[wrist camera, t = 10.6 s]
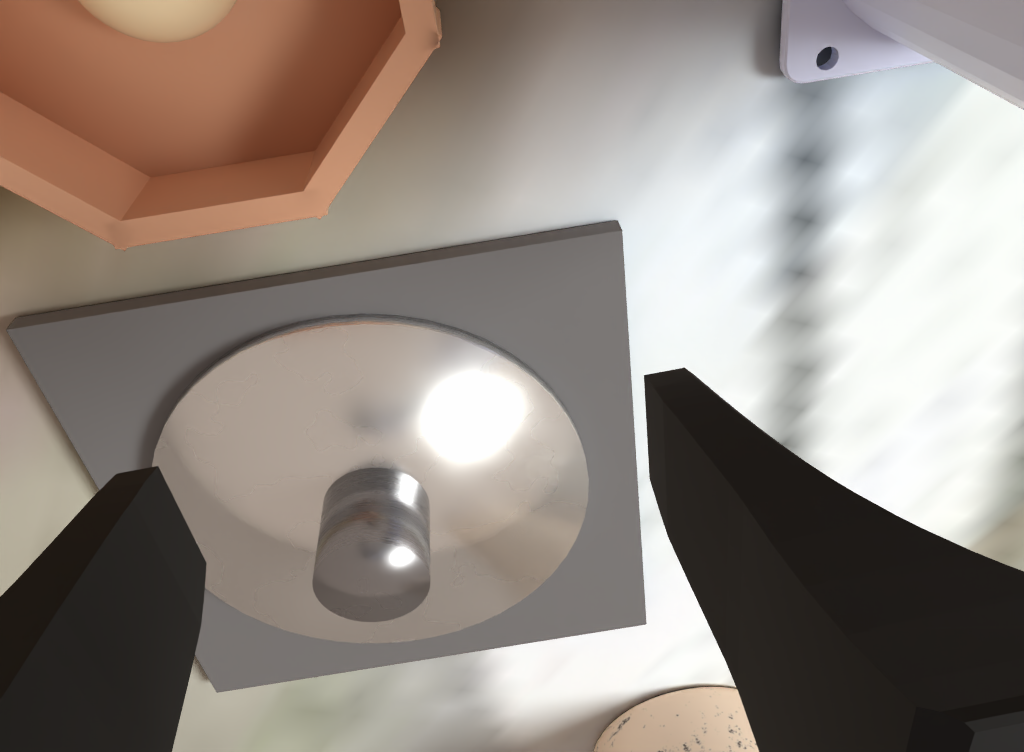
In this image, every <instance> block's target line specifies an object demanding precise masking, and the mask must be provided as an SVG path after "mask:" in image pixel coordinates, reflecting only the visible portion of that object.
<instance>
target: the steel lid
mask: <svg viewBox="0 0 1024 752" xmlns="http://www.w3.org/2000/svg"><path fill="white" fill-rule="evenodd" d="M155 466H158V467H159V469H160V471H161V473H162V475H163V477H164V479H165V481H166V483H167V485H168V487H169V489H170V491H171V493H172V495H173V497H174V499H175V501H176V503H177V505H178V507H179V509H180V511H181V513H182V515H183V517H184V519H185V521H186V523H187V525H188V527H189V529H190V531H191V533H192V535H193V537H194V539H195V541H196V543H197V545H198V547H199V549H200V551H201V553H202V555H203V557H204V559H205V561H206V563H207V565H206V579H205V588H206V589H207V590H209V591H210V592H211V593H213V594H214V595H215V596H217V597H218V598H219V599H221V600H222V601H223V602H225V603H227V604H229V605H230V606H232V607H234V608H235V609H237V610H239V611H240V612H242V613H244V614H246V615H248V616H250V617H253V618H255V619H257V620H259V621H261V622H263V623H266V624H269V625H271V626H274V627H277V628H280V629H283V630H286V631H289V632H293V633H297V634H301V635H305V636H309V637H313V638H319V639H325V640H331V641H338V642H351V643H394V642H406V641H414V640H420V639H426V638H431V637H436V636H440V635H444V634H448V633H451V632H455V631H459V630H462V629H464V628H467V627H470V626H473V625H475V624H478V623H481V622H483V621H485V620H487V619H489V618H491V617H493V616H496V615H498V614H500V613H502V612H503V611H505V610H507V609H508V608H510V607H512V606H513V605H515V604H517V603H518V602H520V601H521V600H523V599H524V598H525V597H527V596H528V595H529V594H531V593H532V592H533V591H534V590H536V589H537V588H538V587H539V586H540V585H541V584H542V583H543V582H544V581H545V580H546V579H548V578H549V577H550V576H551V575H552V574H553V573H554V571H555V570H556V569H557V568H558V566H559V565H560V564H561V562H562V561H563V560H564V559H565V557H566V556H567V554H568V553H569V551H570V549H571V547H572V546H573V544H574V542H575V541H576V539H577V536H578V534H579V531H580V529H581V526H582V524H583V521H584V517H585V512H586V508H587V503H588V488H589V478H588V471H587V464H586V458H585V454H584V450H583V446H582V443H581V440H580V437H579V434H578V431H577V428H576V425H575V423H574V422H573V420H572V418H571V416H570V414H569V412H568V410H567V408H566V406H565V405H564V404H563V402H562V401H561V400H560V398H559V397H558V396H557V394H556V393H555V392H554V390H553V389H552V388H551V387H550V386H549V385H548V384H547V383H546V382H545V381H544V380H543V379H542V378H541V377H540V376H539V375H538V374H537V373H536V372H535V371H534V370H533V369H532V368H530V367H529V366H528V365H526V364H525V363H524V362H522V361H521V360H520V359H518V358H517V357H516V356H514V355H513V354H512V353H510V352H508V351H506V350H505V349H503V348H501V347H499V346H497V345H496V344H494V343H492V342H490V341H488V340H487V339H484V338H482V337H479V336H477V335H474V334H472V333H469V332H467V331H465V330H462V329H460V328H456V327H453V326H449V325H446V324H442V323H438V322H435V321H431V320H427V319H420V318H414V317H407V316H401V315H389V314H367V313H363V314H348V315H333V316H327V317H322V318H316V319H311V320H305V321H300V322H297V323H294V324H290V325H287V326H284V327H281V328H277V329H274V330H271V331H269V332H266V333H264V334H262V335H260V336H257V337H255V338H253V339H251V340H249V341H246V342H244V343H242V344H241V345H239V346H237V347H236V348H234V349H233V350H231V351H229V352H228V353H226V354H225V355H223V356H221V357H220V358H218V359H217V360H216V361H215V362H213V363H212V364H211V365H210V366H209V367H208V368H206V369H205V370H204V371H203V372H202V373H200V374H199V375H198V376H197V377H196V378H195V380H194V381H193V382H192V383H191V384H190V385H189V386H188V388H187V389H186V390H185V391H184V392H183V393H182V394H181V396H180V398H179V399H178V401H177V402H176V404H175V406H174V407H173V409H172V411H171V412H170V414H169V415H168V418H167V420H166V423H165V425H164V428H163V430H162V433H161V436H160V438H159V441H158V443H157V446H156V448H155V452H154V458H153V463H152V467H155Z"/></svg>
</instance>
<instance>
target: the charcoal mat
mask: <svg viewBox="0 0 1024 752" xmlns="http://www.w3.org/2000/svg"><path fill="white" fill-rule="evenodd" d="M363 313H367V314H389V315H401V316H407V317H414V318H420V319H427V320H431V321H435V322H438V323H442V324H446V325H449V326H453V327H456V328H460V329H462V330H465V331H467V332H469V333H472V334H474V335H477V336H479V337H482V338H484V339H487V340H488V341H490V342H492V343H494V344H496V345H497V346H499V347H501V348H503V349H505V350H506V351H508V352H510V353H512V354H513V355H514V356H516V357H517V358H518V359H520V360H521V361H522V362H524V363H525V364H526V365H528V366H529V367H530V368H532V369H533V370H534V371H535V372H536V373H537V374H538V375H539V376H540V377H541V378H542V379H543V380H544V381H545V382H546V383H547V384H548V385H549V386H550V387H551V388H552V389H553V390H554V392H555V393H556V394H557V396H558V397H559V398H560V400H561V401H562V402H563V404H564V405H565V406H566V408H567V410H568V412H569V414H570V416H571V418H572V420H573V422H574V423H575V425H576V428H577V431H578V434H579V437H580V440H581V443H582V446H583V450H584V454H585V458H586V464H587V471H588V478H589V488H588V503H587V508H586V512H585V517H584V521H583V524H582V526H581V529H580V531H579V534H578V536H577V539H576V541H575V542H574V544H573V546H572V547H571V549H570V551H569V553H568V554H567V556H566V557H565V559H564V560H563V561H562V562H561V564H560V565H559V566H558V568H557V569H556V570H555V571H554V573H553V574H552V575H551V576H550V577H549V578H548V579H546V580H545V581H544V582H543V583H542V584H541V585H540V586H539V587H538V588H537V589H536V590H534V591H533V592H532V593H531V594H529V595H528V596H527V597H525V598H524V599H523V600H521V601H520V602H518V603H517V604H515V605H513V606H512V607H510V608H508V609H507V610H505V611H503V612H502V613H500V614H498V615H496V616H493V617H491V618H489V619H487V620H485V621H483V622H481V623H478V624H475V625H473V626H470V627H467V628H464V629H462V630H459V631H455V632H451V633H448V634H444V635H440V636H436V637H431V638H426V639H420V640H414V641H406V642H394V643H351V642H338V641H331V640H325V639H319V638H313V637H309V636H305V635H301V634H297V633H293V632H289V631H286V630H283V629H280V628H277V627H274V626H271V625H269V624H266V623H263V622H261V621H259V620H257V619H255V618H253V617H250V616H248V615H246V614H244V613H242V612H240V611H239V610H237V609H235V608H234V607H232V606H230V605H229V604H227V603H225V602H223V601H222V600H221V599H219V598H218V597H217V596H215V595H214V594H213V593H211V592H210V591H209V590H207V589H206V588H205V592H204V603H203V613H202V622H201V629H200V633H199V638H198V643H197V647H196V651H195V656H196V658H197V659H198V661H199V663H200V664H201V666H202V668H203V670H204V671H205V673H206V675H207V676H208V678H209V680H210V682H211V683H212V685H213V687H214V688H215V690H216V692H224V691H230V690H236V689H243V688H249V687H255V686H262V685H268V684H274V683H280V682H287V681H293V680H299V679H306V678H312V677H318V676H324V675H331V674H337V673H343V672H350V671H356V670H362V669H368V668H375V667H381V666H387V665H394V664H400V663H406V662H412V661H419V660H425V659H431V658H438V657H444V656H450V655H456V654H463V653H469V652H475V651H482V650H488V649H494V648H501V647H507V646H513V645H519V644H526V643H532V642H538V641H545V640H551V639H557V638H563V637H570V636H576V635H582V634H589V633H595V632H601V631H607V630H614V629H620V628H626V627H633V626H639V625H645V624H646V611H645V595H644V578H643V562H642V546H641V530H640V514H639V497H638V481H637V465H636V449H635V433H634V416H633V400H632V384H631V368H630V352H629V335H628V319H627V303H626V287H625V271H624V254H623V238H622V229H621V227H620V225H619V222H618V220H617V221H611V222H604V223H598V224H592V225H586V226H580V227H573V228H567V229H561V230H555V231H549V232H543V233H536V234H530V235H524V236H518V237H512V238H505V239H499V240H493V241H487V242H481V243H475V244H468V245H462V246H456V247H450V248H444V249H437V250H431V251H425V252H419V253H413V254H407V255H400V256H394V257H388V258H382V259H376V260H370V261H363V262H357V263H351V264H345V265H339V266H332V267H326V268H320V269H314V270H308V271H302V272H295V273H289V274H283V275H277V276H271V277H264V278H258V279H252V280H246V281H240V282H234V283H227V284H221V285H215V286H209V287H203V288H197V289H190V290H184V291H178V292H172V293H166V294H159V295H153V296H147V297H141V298H135V299H129V300H122V301H116V302H110V303H104V304H98V305H91V306H85V307H79V308H73V309H67V310H61V311H54V312H48V313H42V314H36V315H30V316H24V317H17V318H15V319H14V320H13V322H12V323H11V324H10V325H9V327H8V328H7V329H6V331H7V332H8V334H9V336H10V338H11V339H12V341H13V343H14V344H15V346H16V348H17V350H18V351H19V353H20V355H21V356H22V358H23V360H24V362H25V363H26V365H27V367H28V368H29V370H30V372H31V374H32V375H33V377H34V379H35V381H36V382H37V384H38V386H39V387H40V389H41V391H42V393H43V394H44V396H45V398H46V399H47V401H48V403H49V405H50V406H51V408H52V410H53V412H54V413H55V415H56V417H57V418H58V420H59V422H60V424H61V425H62V427H63V429H64V430H65V432H66V434H67V436H68V437H69V439H70V441H71V442H72V444H73V446H74V448H75V449H76V451H77V453H78V455H79V456H80V458H81V460H82V461H83V463H84V465H85V467H86V468H87V470H88V472H89V473H90V475H91V477H92V479H93V480H94V482H95V484H96V485H97V487H98V489H99V490H100V489H101V488H102V487H103V486H104V485H105V484H106V483H107V482H108V481H109V480H110V479H111V478H112V477H114V476H115V475H116V474H117V473H122V472H128V471H133V470H139V469H144V468H149V467H152V463H153V458H154V452H155V448H156V446H157V443H158V441H159V438H160V436H161V433H162V430H163V428H164V425H165V423H166V420H167V418H168V415H169V414H170V412H171V411H172V409H173V407H174V406H175V404H176V402H177V401H178V399H179V398H180V396H181V394H182V393H183V392H184V391H185V390H186V389H187V388H188V386H189V385H190V384H191V383H192V382H193V381H194V380H195V378H196V377H197V376H198V375H199V374H200V373H202V372H203V371H204V370H205V369H206V368H208V367H209V366H210V365H211V364H212V363H213V362H215V361H216V360H217V359H218V358H220V357H221V356H223V355H225V354H226V353H228V352H229V351H231V350H233V349H234V348H236V347H237V346H239V345H241V344H242V343H244V342H246V341H249V340H251V339H253V338H255V337H257V336H260V335H262V334H264V333H266V332H269V331H271V330H274V329H277V328H281V327H284V326H287V325H290V324H294V323H297V322H300V321H305V320H311V319H316V318H322V317H327V316H333V315H348V314H363Z"/></svg>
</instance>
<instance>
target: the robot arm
mask: <svg viewBox="0 0 1024 752" xmlns="http://www.w3.org/2000/svg"><path fill="white" fill-rule="evenodd" d="M826 47H831V48H832V54H831V57H830V59H829V60H828V61H827V62H826V63H825V64H823V65H821V66H817V63H816V59H817V56H818V54H819V53H820V52H821V50H822V49H824V48H826ZM779 62H780V69H781V71H782V72H783V74H784V75H785V76H786V77H787V78H788V79H789V80H791V81H793V82H795V83H809V82H815V81H821V80H827V79H833V78H839V77H846V76H852V75H858V74H864V73H870V72H876V71H882V70H889V69H895V68H901V67H907V66H913V65H919V64H925V63H932V62H936V63H938V64H940V65H941V66H943V67H945V68H947V69H949V70H951V71H953V72H954V73H956V74H958V75H960V76H962V77H964V78H966V79H967V80H969V81H971V82H973V83H975V84H977V85H979V86H980V87H982V88H984V89H986V90H988V91H990V92H992V93H993V94H995V95H997V96H999V97H1001V98H1003V99H1005V100H1006V101H1008V102H1010V103H1012V104H1014V105H1016V106H1018V107H1019V108H1021V109H1023V110H1024V0H783V4H782V23H781V41H780V60H779ZM644 383H645V401H646V419H647V438H648V456H649V474H650V481H651V485H652V488H653V491H654V494H655V497H656V501H657V504H658V507H659V510H660V513H661V516H662V519H663V522H664V525H665V529H666V532H667V535H668V537H669V540H670V542H671V544H672V546H673V548H674V551H675V553H676V555H677V557H678V559H679V562H680V564H681V566H682V568H683V570H684V573H685V575H686V577H687V579H688V581H689V583H690V586H691V588H692V590H693V592H694V594H695V596H696V598H697V601H698V603H699V605H700V607H701V609H702V611H703V613H704V616H705V618H706V620H707V622H708V624H709V626H710V628H711V631H712V633H713V635H714V637H715V639H716V641H717V643H718V646H719V648H720V650H721V652H722V654H723V656H724V658H725V661H726V663H727V665H728V668H729V670H730V673H731V675H732V678H733V680H734V682H735V685H736V687H737V690H738V692H739V695H740V698H741V701H742V704H743V707H744V710H745V712H746V715H747V718H748V721H749V724H750V727H751V730H752V733H753V735H754V738H755V741H756V744H757V747H758V750H759V752H1024V571H1021V570H1018V569H1016V568H1013V567H1010V566H1007V565H1005V564H1002V563H1000V562H998V561H995V560H993V559H990V558H988V557H985V556H983V555H980V554H978V553H975V552H973V551H971V550H968V549H966V548H964V547H962V546H960V545H957V544H955V543H953V542H951V541H949V540H946V539H944V538H942V537H940V536H938V535H935V534H933V533H931V532H929V531H927V530H924V529H922V528H920V527H918V526H916V525H914V524H912V523H910V522H908V521H906V520H904V519H902V518H900V517H898V516H896V515H894V514H893V513H891V512H889V511H887V510H885V509H883V508H882V507H880V506H878V505H876V504H874V503H872V502H871V501H869V500H867V499H865V498H863V497H862V496H860V495H858V494H856V493H854V492H853V491H851V490H849V489H848V488H846V487H844V486H843V485H841V484H839V483H838V482H836V481H834V480H833V479H831V478H830V477H828V476H826V475H825V474H823V473H822V472H820V471H819V470H817V469H816V468H814V467H813V466H811V465H810V464H808V463H807V462H805V461H804V460H802V459H801V458H799V457H798V456H797V455H795V454H794V453H792V452H791V451H789V450H788V449H787V448H785V447H784V446H783V445H781V444H780V443H779V442H777V441H776V440H775V439H773V438H772V437H771V436H769V435H768V434H767V433H765V432H764V431H763V430H761V429H760V428H758V427H757V426H756V425H755V424H753V423H752V422H751V421H749V420H748V419H747V418H746V417H744V416H743V415H742V414H741V413H739V412H738V411H737V410H736V409H734V408H733V407H732V406H731V405H730V404H728V403H727V402H726V401H725V400H723V399H722V398H721V397H720V396H719V395H717V394H716V393H715V392H714V391H713V390H711V389H710V388H709V387H708V386H707V385H705V384H704V383H703V382H702V381H701V380H700V379H698V378H697V377H696V376H695V375H694V374H692V373H691V372H690V371H688V370H687V369H686V368H681V369H675V370H670V371H665V372H659V373H654V374H649V375H644ZM206 565H207V563H206V561H205V559H204V557H203V555H202V553H201V551H200V549H199V547H198V545H197V543H196V541H195V539H194V537H193V535H192V533H191V531H190V529H189V527H188V525H187V523H186V521H185V519H184V517H183V515H182V513H181V511H180V509H179V507H178V505H177V503H176V501H175V499H174V497H173V495H172V493H171V491H170V489H169V487H168V485H167V483H166V481H165V479H164V477H163V475H162V473H161V471H160V469H159V467H158V466H155V467H149V468H144V469H139V470H133V471H128V472H122V473H117V474H116V475H115V476H114V477H112V478H111V479H110V480H109V481H108V482H107V483H106V484H105V485H104V486H103V487H102V488H101V489H100V490H99V492H98V493H97V494H96V495H95V496H94V497H93V498H92V499H91V500H90V501H89V502H88V503H87V504H86V505H85V507H84V508H83V509H82V510H81V511H80V512H79V513H78V514H77V515H76V516H75V517H74V519H73V520H72V521H71V522H70V523H69V524H68V525H67V526H66V527H65V528H64V530H63V531H62V532H61V533H60V534H59V535H58V536H57V537H56V538H55V539H54V541H53V542H52V543H51V544H50V545H49V546H48V547H47V548H46V549H45V550H44V551H43V552H42V553H41V555H40V556H39V557H38V558H37V559H36V560H35V561H34V562H33V563H32V564H31V565H30V566H29V568H28V569H27V570H26V571H25V572H24V573H23V574H22V575H21V576H20V577H19V578H18V579H17V580H16V581H15V582H14V584H13V585H12V586H11V587H10V588H9V589H8V590H7V591H6V592H5V593H4V594H3V595H2V596H1V597H0V752H172V748H173V744H174V740H175V736H176V732H177V727H178V723H179V719H180V715H181V711H182V707H183V702H184V698H185V694H186V690H187V686H188V682H189V677H190V673H191V669H192V664H193V660H194V656H195V651H196V647H197V643H198V638H199V633H200V629H201V622H202V613H203V603H204V592H205V579H206Z"/></svg>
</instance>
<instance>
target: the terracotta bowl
mask: <svg viewBox="0 0 1024 752" xmlns="http://www.w3.org/2000/svg"><path fill="white" fill-rule="evenodd" d="M441 39H442V28H441V16H440V10H439V9H438V8H437V7H436V4H435V0H0V185H1V186H2V187H4V188H6V189H8V190H10V191H12V192H14V193H16V194H18V195H20V196H21V197H23V198H25V199H27V200H29V201H31V202H33V203H35V204H37V205H39V206H40V207H42V208H44V209H46V210H48V211H50V212H52V213H54V214H56V215H58V216H59V217H61V218H63V219H65V220H67V221H69V222H71V223H73V224H75V225H77V226H78V227H80V228H82V229H84V230H86V231H88V232H90V233H92V234H94V235H96V236H97V237H99V238H101V239H103V240H105V241H107V242H109V243H111V244H113V245H114V247H115V249H122V250H124V251H125V250H126V249H127V247H132V246H139V245H145V244H151V243H157V242H163V241H169V240H176V239H182V238H188V237H194V236H200V235H206V234H213V233H219V232H225V231H231V230H237V229H243V228H250V227H256V226H262V225H268V224H274V223H280V222H287V221H293V220H299V219H305V218H311V217H317V218H318V219H321V217H322V216H324V215H327V214H328V209H329V205H330V204H331V202H332V201H333V199H334V198H335V196H336V195H337V193H338V192H339V190H340V189H341V187H342V186H343V184H344V183H345V181H346V180H347V178H348V177H349V175H350V174H351V172H352V171H353V170H354V168H355V167H356V165H357V164H358V162H359V161H360V159H361V158H362V156H363V155H364V153H365V152H366V150H367V149H368V147H369V146H370V144H371V143H372V141H373V140H374V138H375V137H376V135H377V134H378V132H379V131H380V129H381V128H382V126H383V125H384V123H385V122H386V120H387V119H388V117H389V116H390V114H391V113H392V111H393V110H394V108H395V107H396V105H397V104H398V103H399V101H400V100H401V98H402V97H403V95H404V94H405V92H406V91H407V89H408V88H409V86H410V85H411V83H412V82H413V80H414V79H415V77H416V76H417V74H418V73H419V71H420V70H421V68H422V67H423V65H424V64H425V62H426V61H427V59H428V58H429V56H430V55H431V53H432V52H433V50H434V49H435V48H440V40H441Z"/></svg>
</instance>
